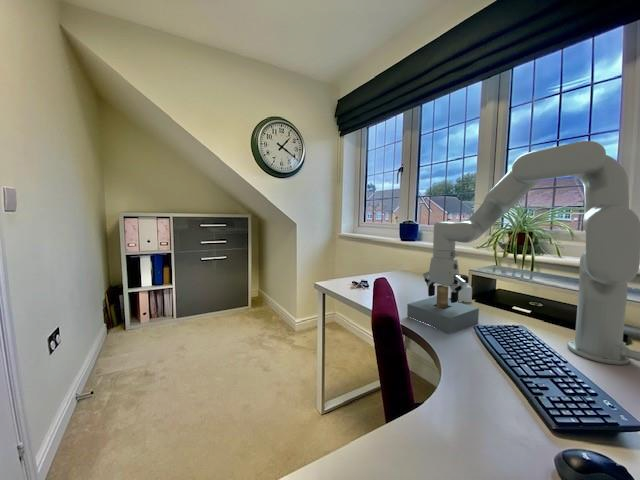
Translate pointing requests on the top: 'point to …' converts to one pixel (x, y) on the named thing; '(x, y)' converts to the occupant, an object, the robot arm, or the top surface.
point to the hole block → (443, 314)
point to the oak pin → (442, 296)
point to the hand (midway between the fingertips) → (442, 298)
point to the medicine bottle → (464, 290)
